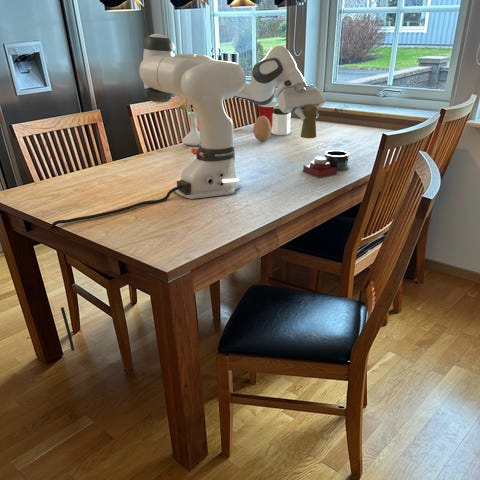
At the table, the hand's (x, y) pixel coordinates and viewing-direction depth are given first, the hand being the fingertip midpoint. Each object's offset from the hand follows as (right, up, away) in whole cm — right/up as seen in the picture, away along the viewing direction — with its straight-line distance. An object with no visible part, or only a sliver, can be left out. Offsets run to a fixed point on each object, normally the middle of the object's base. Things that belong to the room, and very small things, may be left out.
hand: (310, 118), depth 181 cm
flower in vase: (-48, +6, +44) cm, 65 cm away
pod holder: (+11, -16, +9) cm, 21 cm away
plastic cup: (-12, +26, +73) cm, 79 cm away
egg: (-16, +9, +47) cm, 51 cm away
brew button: (+4, -16, +1) cm, 17 cm away
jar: (-6, +18, +61) cm, 64 cm away
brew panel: (+4, -19, +3) cm, 20 cm away
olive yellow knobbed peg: (0, -5, +4) cm, 7 cm away
